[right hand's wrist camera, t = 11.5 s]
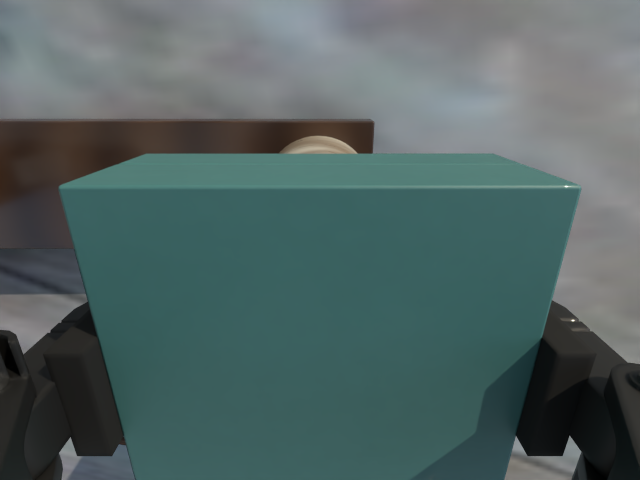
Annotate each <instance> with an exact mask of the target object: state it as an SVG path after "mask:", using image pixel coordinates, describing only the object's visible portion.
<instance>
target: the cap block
mask: <svg viewBox="0 0 640 480" xmlns="http://www.w3.org/2000/svg"><path fill="white" fill-rule="evenodd" d="M58 190H59V194H60V198H61V202H62V206H63V209H64V213H65V217H66V221H67V224H68V228H69V232H70V236H71V239H72V243H73V247H74V251H75V254H76V258H77V262H78V266H79V270H80V273H81V277H82V281H83V285H84V288H85V292H86V296H87V300H88V303H89V307H90V311H91V315H92V319H93V322H94V326H95V330H96V334H97V337H98V341H99V345H100V349H101V352H102V356H103V360H104V364H105V367H106V371H107V375H108V379H109V383H110V386H111V390H112V394H113V398H114V401H115V405H116V409H117V413H118V416H119V420H120V424H121V428H122V432H123V435H124V439H125V443H126V447H127V450H128V454H129V458H130V462H131V465H132V469H133V473H134V477H135V480H504V478H505V474H506V471H507V467H508V463H509V459H510V456H511V452H512V448H513V444H514V441H515V437H516V433H517V429H518V426H519V422H520V418H521V414H522V411H523V407H524V403H525V399H526V395H527V392H528V388H529V384H530V380H531V377H532V373H533V369H534V365H535V362H536V358H537V354H538V350H539V347H540V343H541V339H542V335H543V331H544V328H545V324H546V320H547V316H548V313H549V309H550V305H551V301H552V298H553V294H554V290H555V286H556V283H557V279H558V275H559V271H560V268H561V264H562V260H563V256H564V252H565V249H566V245H567V241H568V237H569V234H570V230H571V226H572V222H573V219H574V215H575V211H576V207H577V204H578V200H579V196H580V192H581V186H580V185H578V184H575V183H572V182H570V181H567V180H564V179H561V178H559V177H556V176H553V175H550V174H548V173H545V172H542V171H539V170H537V169H534V168H531V167H528V166H526V165H523V164H520V163H517V162H514V161H512V160H509V159H506V158H503V157H501V156H498V155H495V154H144V155H141V156H139V157H136V158H133V159H130V160H128V161H125V162H122V163H120V164H116V165H114V166H111V167H108V168H105V169H103V170H100V171H97V172H95V173H92V174H89V175H86V176H84V177H81V178H78V179H75V180H73V181H70V182H67V183H65V184H62V185H60V186H59V188H58Z"/></svg>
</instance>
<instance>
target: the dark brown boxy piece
mask: <svg viewBox="0 0 640 480" xmlns="http://www.w3.org/2000/svg"><path fill="white" fill-rule="evenodd" d="M373 138H374V121H372V120H371V119H0V249H74V247H73V243H72V239H71V236H70V232H69V228H68V224H67V221H66V217H65V213H64V209H63V206H62V202H61V198H60V194H59V190H58V188H59V186H60V185H62V184H65V183H67V182H70V181H73V180H75V179H78V178H81V177H84V176H86V175H89V174H92V173H95V172H97V171H100V170H103V169H105V168H108V167H111V166H114V165H116V164H120V163H122V162H125V161H128V160H130V159H133V158H136V157H139V156H141V155H144V154H373Z"/></svg>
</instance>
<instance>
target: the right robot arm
mask: <svg viewBox="0 0 640 480" xmlns="http://www.w3.org/2000/svg"><path fill="white" fill-rule="evenodd" d="M569 435H570V436H571V438H572V439H573V440H574V442H575V443H576V445H577V446H578V447H579V449H580V450H581V451H582V452H581V455H580V458H579V460H578V463H577V466H576V469H575V472H574V474H573V477H572V480H640V364H634V363H627V362H626V361H625V360H624V359H623V358H622V357H621V356H619V355H618V354H617V353H616V352H615V351H614V350H613V349H612V348H610V347H609V346H608V345H607V344H606V343H605V342H604V341H603V340H601V339H600V338H599V337H598V336H597V335H596V334H595V333H594V332H590V329H589V328H588V327H587V326H586V325H584V324H583V323H582V322H579V319H578V318H577V317H575V316H574V315H573V314H572V313H571V312H570V311H569V310H568V309H566V308H565V307H563V306H561V305H560V304H558V303H556V302H554V301H551V305H550V309H549V313H548V316H547V320H546V324H545V328H544V331H543V335H542V339H541V343H540V347H539V350H538V354H537V358H536V362H535V365H534V369H533V373H532V377H531V380H530V384H529V388H528V392H527V395H526V399H525V403H524V407H523V411H522V414H521V418H520V422H519V426H518V429H517V433H516V436H517V438H518V440H519V441H520V443H521V445H522V447H523V449H524V450H525V452H526V454H527V456H563V453H564V450H565V447H566V444H567V441H568V438H569ZM123 436H124V435H123V432H122V428H121V424H120V420H119V416H118V413H117V409H116V405H115V401H114V398H113V394H112V390H111V386H110V383H109V379H108V375H107V371H106V367H105V364H104V360H103V356H102V352H101V349H100V345H99V341H98V337H97V334H96V330H95V326H94V322H93V319H92V315H91V311H90V307H89V303H88V302H87V303H85V304H83V305H81V306H79V307H77V308H76V309H74V310H73V311H72V312H71V313H70V314H68V315H67V316H66V317H65V318H64V319H63V320H62V322H61V323H58V324H57V325H56V326H55V327H54V328H53V329H52V330H51V332H50V333H47V334H46V335H45V336H44V337H43V338H42V339H40V340H39V341H38V342H37V343H36V344H35V345H34V346H33V347H31V348H30V349H29V350H28V351H27V352H26V353H25V354H24V355H23V353H22V350H21V347H20V344H19V342H18V339H17V336H16V334H14V333H12V332H11V331H6V330H0V480H61V478H62V471H63V467H62V460H61V458H60V455H59V452H60V451H61V449H62V448H63V446H64V445H65V444H66V442H67V441H68V439H69V438H70V437H71V439H72V442H73V445H74V448H75V451H76V454H77V456H112V455H113V453H114V452H115V450H116V448H117V446H118V445H119V443H120V441H121V439H122V438H123Z"/></svg>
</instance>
